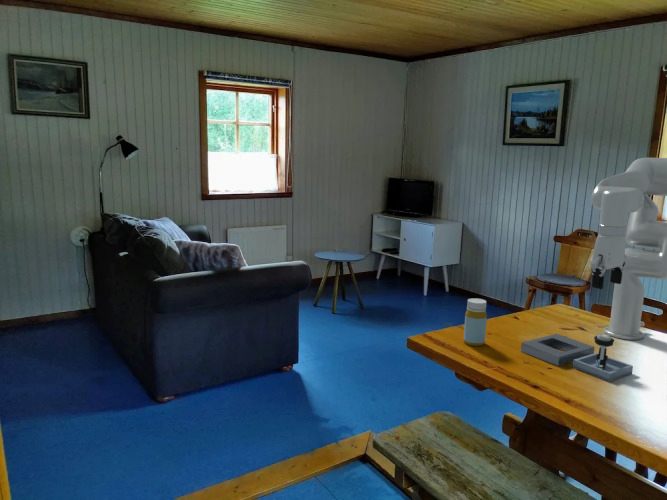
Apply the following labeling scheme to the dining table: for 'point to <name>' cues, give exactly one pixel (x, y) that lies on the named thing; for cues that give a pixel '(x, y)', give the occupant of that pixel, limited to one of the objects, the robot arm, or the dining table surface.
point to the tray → (610, 372)
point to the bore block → (556, 357)
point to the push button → (603, 349)
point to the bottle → (475, 322)
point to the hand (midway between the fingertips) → (606, 285)
